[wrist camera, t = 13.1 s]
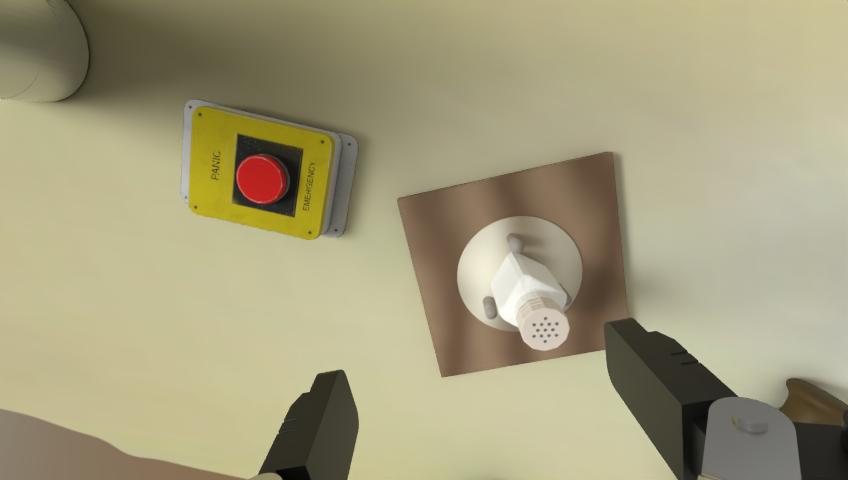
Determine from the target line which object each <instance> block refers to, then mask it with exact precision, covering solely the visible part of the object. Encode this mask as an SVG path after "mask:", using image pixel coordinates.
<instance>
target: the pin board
mask: <svg viewBox="0 0 848 480" xmlns="http://www.w3.org/2000/svg"><path fill="white" fill-rule="evenodd" d="M397 202H398V206H399V210H400V214H401V218H402V222H403V226H404V230H405V234H406V238H407V242H408V246H409V250H410V254H411V258H412V262H413V266H414V270H415V274H416V278H417V282H418V285H419V289H420V293H421V297H422V301H423V305H424V309H425V313H426V317H427V321H428V325H429V329H430V333H431V337H432V341H433V345H434V349H435V353H436V357H437V361H438V365H439V369H440V373H441V377H448V376H453V375H459V374H465V373H471V372H477V371H483V370H489V369H494V368H500V367H506V366H512V365H518V364H524V363H530V362H535V361H541V360H547V359H553V358H559V357H565V356H570V355H576V354H582V353H588V352H594V351H600V350H606V349H605V338H604V324H605V322H609V321H615V320H620V319H626V318H628V311H627V301H626V290H625V280H624V269H623V259H622V249H621V238H620V228H619V217H618V207H617V197H616V186H615V176H614V165H613V155H612V152H604V153H599V154H595V155H590V156H586V157H581V158H577V159H572V160H568V161H563V162H559V163H554V164H550V165H545V166H541V167H536V168H532V169H527V170H523V171H518V172H514V173H509V174H505V175H500V176H496V177H491V178H487V179H482V180H478V181H473V182H469V183H464V184H460V185H455V186H451V187H446V188H442V189H437V190H433V191H428V192H424V193H419V194H415V195H410V196H406V197H401V198H398V199H397ZM510 252H515V253H519V254H521V255H523V256H525V257H527V258H530V259H532V260H534V261H536V262H538V263H540V264H542V265H544V266H546V268H547V269H548V270H549V271H550V273H551V274H552V275H553V277H554V278H555V279H556V281H557V282H558V284H559V285H560V286H561V288H562V289H563V290H564V292H565V293H566V295H567V300H566V304H565V306H564V308H563V310H562V311H563V312H564V314H565V315H566V317H567V319H568V323H569V327H570V330H569V333H568V336H567V339H566V340H565V341H564V342H563V343H562V344H561V345H560V346H558V347H557V348H554V349H551V350H547V351H542V350H537V349H532V348H531V347H530V346H529V345H528V344H526V343H525V342H524V341H523V338H522V335H521V333H520V330H519V328H518V327H516V326H514V325H512V324H510V323H509V322H507V321H505V320H503V318H502V317H501V316H500V315H499V312H498V309H497V305H496V302H495V299H494V296H493V292H492V289H491V282H492V281H493V279H494V277H495V275H496V274H497V272H498V270H499V269H500V267H501V265H502V263H503V262H504V260H505V258H506V257H507V255H508V254H509V253H510Z"/></svg>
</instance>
